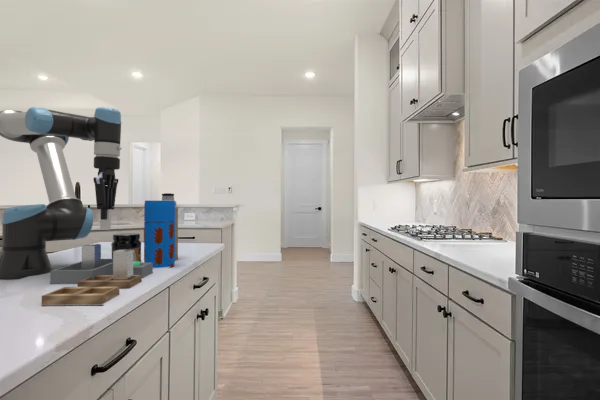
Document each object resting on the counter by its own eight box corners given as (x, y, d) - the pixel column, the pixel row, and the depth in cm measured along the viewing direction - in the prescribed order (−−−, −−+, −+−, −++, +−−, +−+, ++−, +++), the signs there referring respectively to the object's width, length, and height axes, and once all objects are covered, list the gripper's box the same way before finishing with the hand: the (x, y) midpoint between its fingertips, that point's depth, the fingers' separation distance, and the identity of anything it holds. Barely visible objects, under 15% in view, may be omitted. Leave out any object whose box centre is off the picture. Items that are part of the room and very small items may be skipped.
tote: (50, 286, 107) (50, 270, 107) (90, 271, 129) (90, 258, 129) (92, 285, 108) (92, 270, 108) (125, 271, 130) (125, 258, 130)
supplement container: (133, 267, 137) (133, 235, 137) (105, 267, 137) (105, 235, 137) (146, 262, 148) (146, 233, 148) (120, 262, 148) (120, 232, 148)
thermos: (180, 265, 142) (181, 200, 142) (161, 270, 132) (162, 200, 132) (157, 263, 146) (158, 200, 146) (137, 268, 136) (137, 200, 136)
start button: (124, 272, 118) (124, 262, 118) (130, 270, 122) (130, 260, 122) (137, 272, 118) (137, 262, 118) (142, 269, 122) (142, 260, 122)
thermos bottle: (163, 258, 159) (163, 193, 159) (180, 258, 159) (181, 193, 159) (154, 261, 151) (154, 193, 151) (172, 261, 151) (173, 193, 151)
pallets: (41, 306, 87) (41, 295, 87) (94, 283, 111) (94, 275, 111) (102, 306, 87) (102, 295, 87) (141, 283, 111) (141, 275, 111)
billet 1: (81, 277, 116) (81, 245, 116) (88, 274, 120) (88, 243, 120) (94, 277, 117) (94, 245, 117) (100, 274, 121) (100, 243, 121)
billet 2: (113, 286, 105) (113, 251, 105) (119, 283, 109) (119, 249, 109) (127, 286, 105) (127, 250, 105) (133, 283, 109) (133, 249, 109)
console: (113, 280, 115) (113, 267, 115) (125, 274, 124) (125, 262, 124) (142, 280, 116) (142, 267, 116) (152, 274, 125) (152, 262, 125)
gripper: (110, 155, 113) (108, 231, 114) (126, 159, 126) (125, 227, 127) (84, 154, 112) (83, 231, 113) (104, 158, 125) (102, 227, 126)
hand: (105, 229), depth 120 cm, fingers closed
